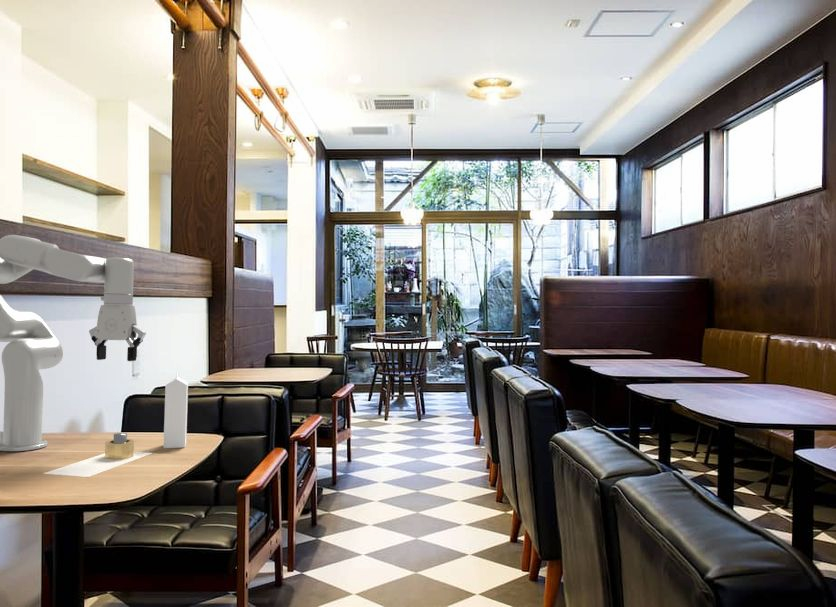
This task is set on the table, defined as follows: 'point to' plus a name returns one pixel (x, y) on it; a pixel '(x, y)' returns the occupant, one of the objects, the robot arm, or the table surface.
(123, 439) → the cylinder
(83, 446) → the table surface
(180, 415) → the milk
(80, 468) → the board
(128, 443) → the ring
